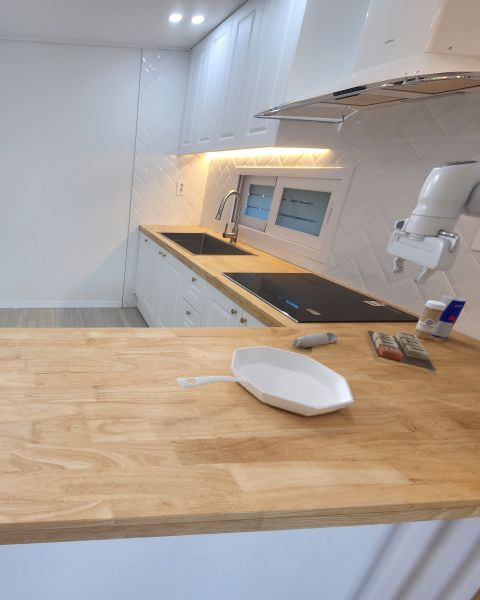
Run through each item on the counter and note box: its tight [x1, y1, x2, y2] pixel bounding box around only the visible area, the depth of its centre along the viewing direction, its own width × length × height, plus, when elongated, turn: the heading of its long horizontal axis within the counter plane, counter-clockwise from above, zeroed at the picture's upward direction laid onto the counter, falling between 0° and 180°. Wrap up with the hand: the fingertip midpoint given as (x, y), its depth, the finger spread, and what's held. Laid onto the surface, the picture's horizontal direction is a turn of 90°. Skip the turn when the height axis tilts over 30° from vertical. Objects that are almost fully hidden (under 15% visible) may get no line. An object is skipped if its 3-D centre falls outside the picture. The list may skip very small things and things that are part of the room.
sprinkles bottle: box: [411, 299, 446, 341], centre depth 113 cm, size 5×5×13 cm
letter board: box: [366, 329, 437, 372], centre depth 106 cm, size 13×22×1 cm, turn 148°
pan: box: [176, 345, 355, 418], centre depth 81 cm, size 25×44×6 cm, turn 107°
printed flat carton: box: [395, 331, 430, 361], centre depth 106 cm, size 4×16×2 cm, turn 148°
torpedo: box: [291, 327, 338, 349], centre depth 105 cm, size 18×5×6 cm, turn 110°
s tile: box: [378, 345, 403, 361], centre depth 101 cm, size 4×4×2 cm
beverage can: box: [430, 294, 467, 340], centre depth 114 cm, size 6×6×15 cm
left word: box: [373, 331, 399, 349], centre depth 107 cm, size 4×10×2 cm, turn 148°
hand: (407, 277), depth 93 cm, fingers open, 8 cm apart
